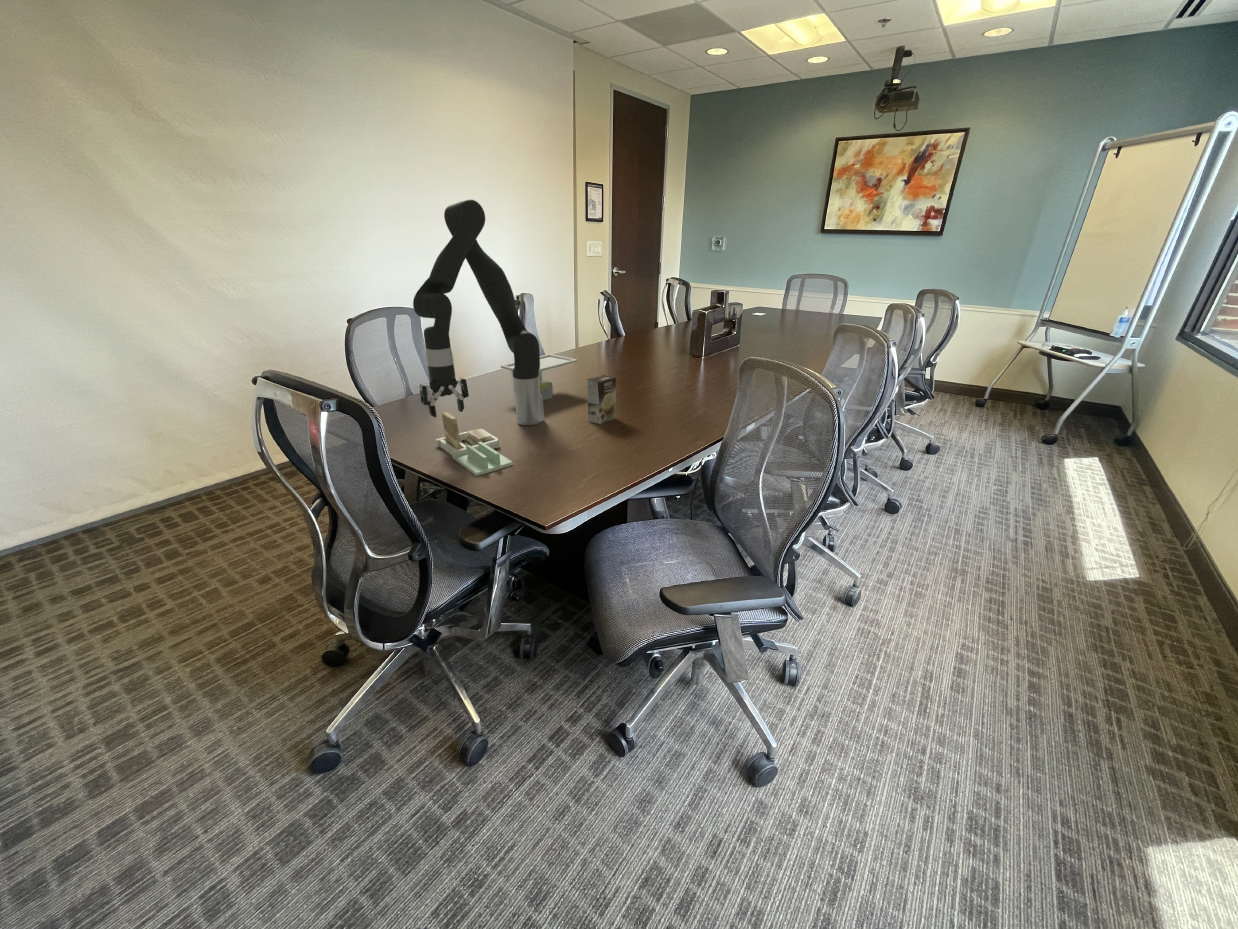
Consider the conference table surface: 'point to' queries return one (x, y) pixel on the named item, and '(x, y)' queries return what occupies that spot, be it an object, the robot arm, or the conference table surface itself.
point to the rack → (463, 451)
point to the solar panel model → (545, 364)
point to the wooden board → (451, 430)
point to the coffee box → (601, 399)
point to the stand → (483, 460)
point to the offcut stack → (478, 437)
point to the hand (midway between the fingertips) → (447, 413)
